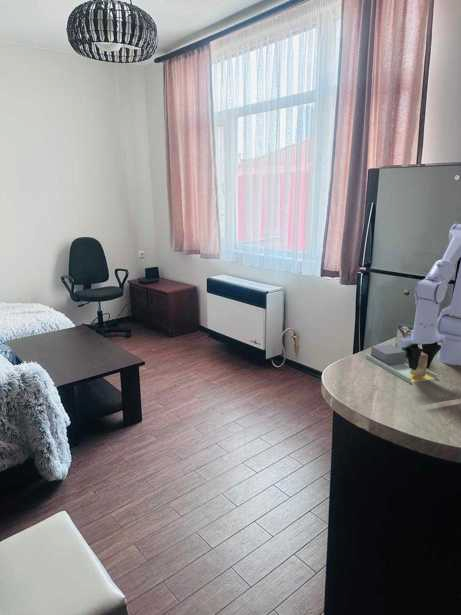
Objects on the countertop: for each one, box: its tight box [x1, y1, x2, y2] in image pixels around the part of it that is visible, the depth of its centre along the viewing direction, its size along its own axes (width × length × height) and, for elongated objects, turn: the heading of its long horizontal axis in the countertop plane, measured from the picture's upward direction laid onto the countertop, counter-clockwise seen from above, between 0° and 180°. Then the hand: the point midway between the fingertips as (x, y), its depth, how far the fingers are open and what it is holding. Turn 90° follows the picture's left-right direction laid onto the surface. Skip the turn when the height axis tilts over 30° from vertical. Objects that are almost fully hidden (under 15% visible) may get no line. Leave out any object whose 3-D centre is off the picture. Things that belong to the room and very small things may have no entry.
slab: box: [370, 344, 406, 366], centre depth 135 cm, size 8×7×4 cm
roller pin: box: [410, 353, 428, 377], centre depth 122 cm, size 4×4×6 cm
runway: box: [364, 353, 438, 384], centre depth 130 cm, size 10×20×2 cm, turn 19°
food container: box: [394, 323, 414, 359], centre depth 140 cm, size 12×6×10 cm, turn 169°
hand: (418, 367), depth 122 cm, fingers closed on roller pin, 4 cm apart
